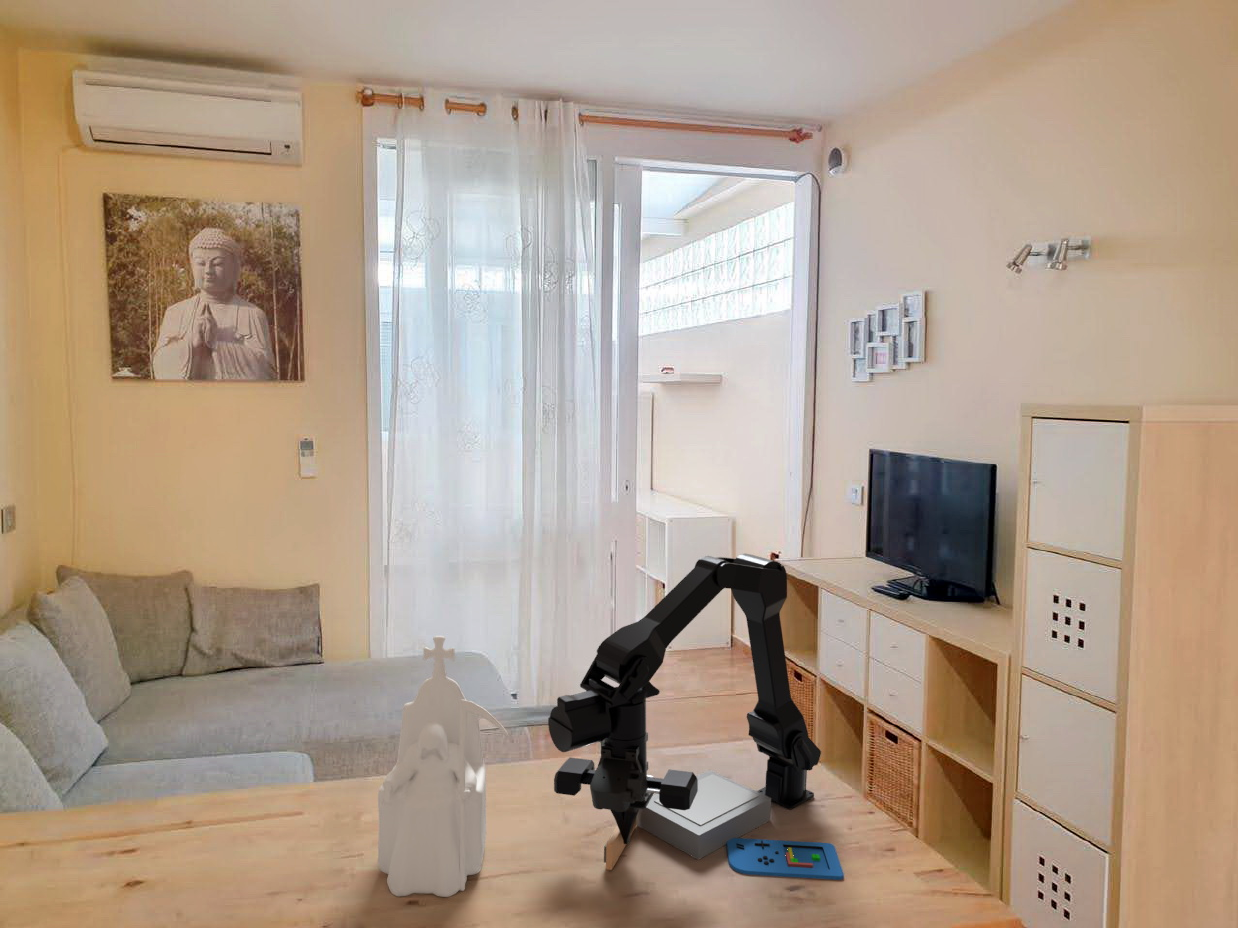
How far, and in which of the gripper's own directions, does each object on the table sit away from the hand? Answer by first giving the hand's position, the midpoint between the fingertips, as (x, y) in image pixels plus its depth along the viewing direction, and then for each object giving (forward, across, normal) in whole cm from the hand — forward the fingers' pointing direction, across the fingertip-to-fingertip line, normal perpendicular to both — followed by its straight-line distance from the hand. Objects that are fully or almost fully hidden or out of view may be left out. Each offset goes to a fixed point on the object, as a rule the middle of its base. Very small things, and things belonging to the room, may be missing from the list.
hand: (626, 842), depth 119 cm
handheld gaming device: (+4, +20, +7) cm, 22 cm away
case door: (+2, -2, +2) cm, 3 cm away
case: (+2, +8, +13) cm, 15 cm away
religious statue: (+2, -22, -10) cm, 24 cm away
